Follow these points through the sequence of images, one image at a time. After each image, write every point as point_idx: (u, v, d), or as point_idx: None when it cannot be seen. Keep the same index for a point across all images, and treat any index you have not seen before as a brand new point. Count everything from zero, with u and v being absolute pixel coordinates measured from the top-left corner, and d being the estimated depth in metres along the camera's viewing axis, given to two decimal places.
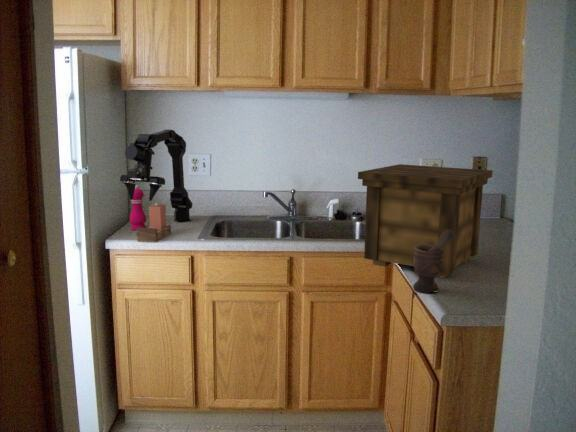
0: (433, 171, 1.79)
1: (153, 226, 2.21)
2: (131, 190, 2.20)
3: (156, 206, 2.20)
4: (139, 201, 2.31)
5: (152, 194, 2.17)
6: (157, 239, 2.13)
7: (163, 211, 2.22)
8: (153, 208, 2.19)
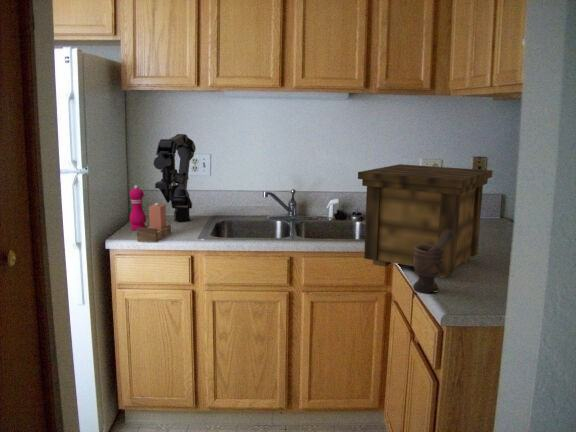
0: (433, 171, 1.79)
1: (153, 226, 2.21)
2: None
3: (156, 206, 2.20)
4: (139, 201, 2.31)
5: None
6: (157, 239, 2.13)
7: (163, 211, 2.22)
8: (153, 208, 2.19)
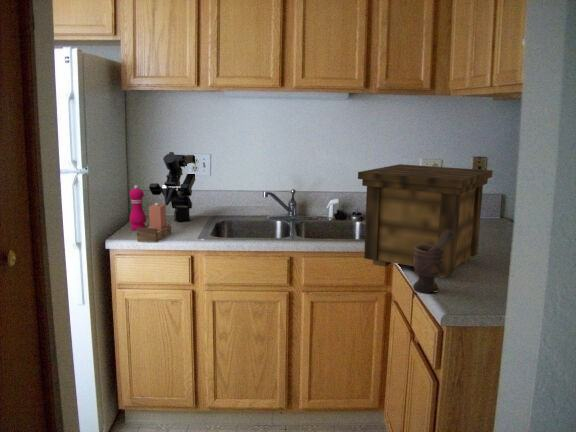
0: (433, 171, 1.79)
1: (153, 226, 2.21)
2: None
3: (156, 206, 2.20)
4: (139, 201, 2.31)
5: None
6: (157, 239, 2.13)
7: (163, 211, 2.22)
8: (153, 208, 2.19)
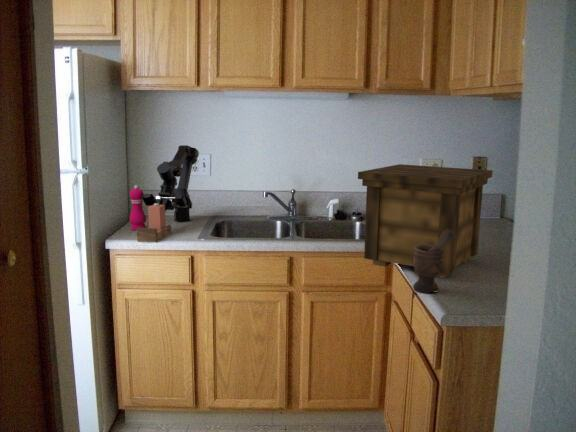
0: (433, 171, 1.79)
1: (152, 226, 2.20)
2: None
3: (155, 206, 2.19)
4: (139, 201, 2.31)
5: None
6: (157, 239, 2.13)
7: (162, 211, 2.21)
8: (152, 208, 2.18)
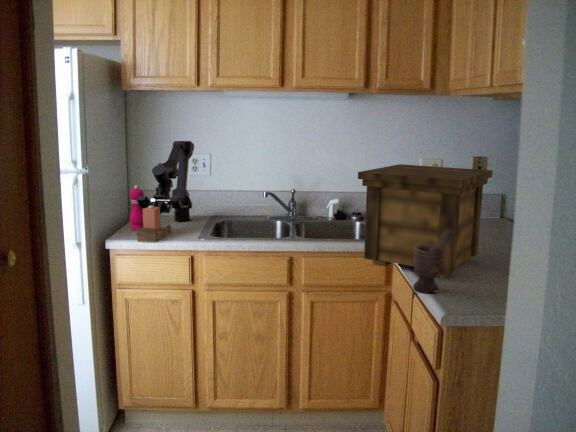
0: (433, 171, 1.79)
1: None
2: None
3: (150, 209, 2.14)
4: None
5: None
6: (157, 239, 2.13)
7: (157, 214, 2.16)
8: (147, 211, 2.13)
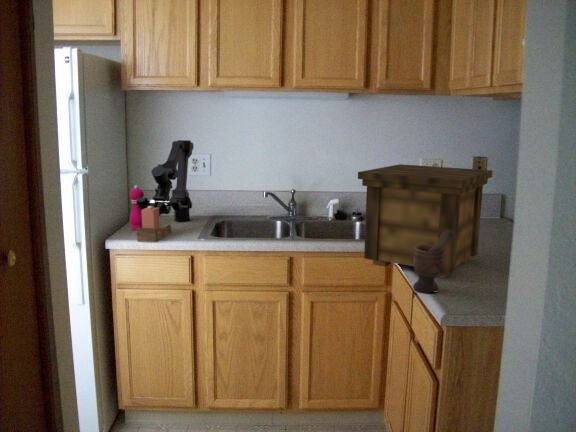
0: (433, 171, 1.79)
1: None
2: None
3: (149, 209, 2.13)
4: None
5: None
6: (157, 239, 2.13)
7: (156, 214, 2.15)
8: (146, 211, 2.12)
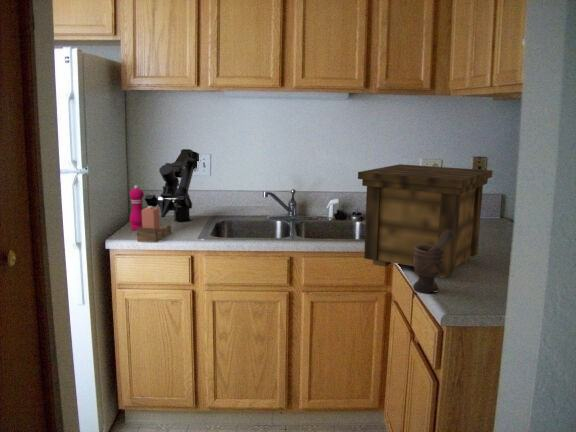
0: (433, 171, 1.79)
1: None
2: None
3: (149, 209, 2.13)
4: (139, 201, 2.31)
5: None
6: (157, 239, 2.13)
7: (156, 214, 2.15)
8: (146, 211, 2.12)
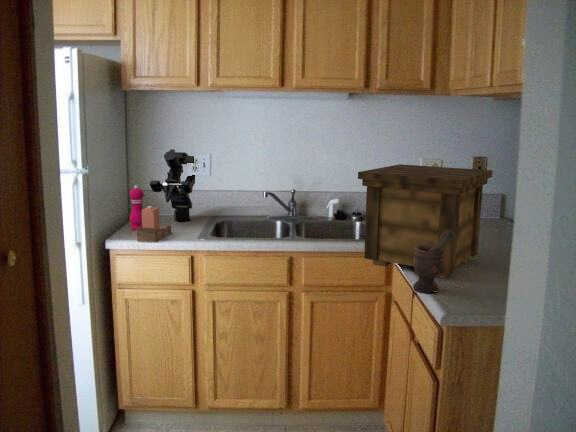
0: (433, 171, 1.79)
1: None
2: None
3: (149, 209, 2.13)
4: (139, 201, 2.31)
5: None
6: (157, 239, 2.13)
7: (156, 214, 2.15)
8: (146, 211, 2.12)
